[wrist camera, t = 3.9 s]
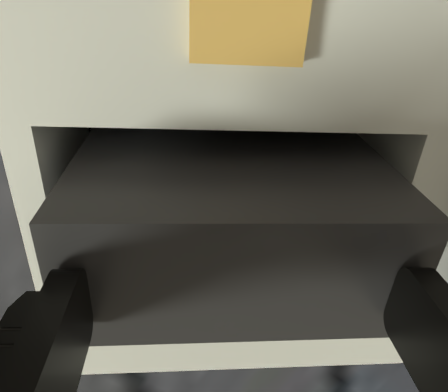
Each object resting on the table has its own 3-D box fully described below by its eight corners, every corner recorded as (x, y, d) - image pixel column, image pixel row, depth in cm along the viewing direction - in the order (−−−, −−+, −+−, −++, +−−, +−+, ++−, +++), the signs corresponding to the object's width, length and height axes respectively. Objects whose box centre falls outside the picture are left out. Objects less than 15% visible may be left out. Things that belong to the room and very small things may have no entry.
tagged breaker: (101, 114, 15) (28, 224, 8) (342, 120, 16) (455, 223, 9) (110, 200, 17) (57, 347, 10) (325, 201, 18) (408, 337, 11)
